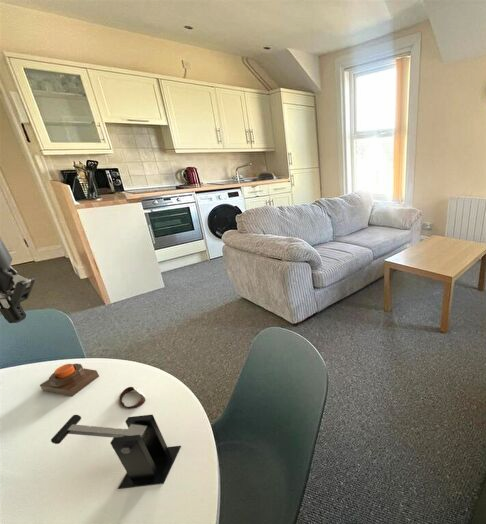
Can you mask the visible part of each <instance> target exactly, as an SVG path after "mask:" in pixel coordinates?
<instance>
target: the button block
mask: <svg viewBox="0 0 486 524" xmlns="http://www.w3.org/2000/svg"><path fill="white" fill-rule="evenodd" d="M71 364H72V365H73V367H74V368H75V371H74V372H73V373H72V374H70V375H68V376H66V377H64V378H60V379H58V378H57V377H56V375H55V373H54V372H53V373H52V374H51V375H50V376H49V377H48V379H47V380H45V381H44V382H42V383H41V384H39V387H40V389H41V390H42V392H45V393H50V394H56V395H61V396H67V397H74V396H75V395H77V394H78V393H80V392H81V391H82V390H83V389H84V388H86V387H87V386H88V385H90V384H91V383H92V382H94V381H95V380H97V379H98V378H100V374H99V372H98V370H96V369H90V368H84V367H83V365H82V364H81V363H71Z"/></svg>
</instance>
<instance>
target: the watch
mask: <svg viewBox="0 0 486 524" xmlns="http://www.w3.org/2000/svg"><path fill="white" fill-rule="evenodd" d="M131 392H136V393H138V394H139V395H140V396H141V399H140V400H139V401H138V402H137V403H136V404H134V405H131V406H126V405H125V403H124V402H123V398H124V396H126V395H127V394H128V393H131ZM145 396H146V394H144V392H142V391H141V390H140V389H139V388H137V387H136V386H135V387H134V386H128V387H126V388H125V389H123V390H122V392H121V393H120V395H119V398H118V400H119V404H120V406H122V407H123V408H126V409H130V410H133V409H137V408H140V407H141V406H143V405H144V404H145V402H146V397H145Z"/></svg>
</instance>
